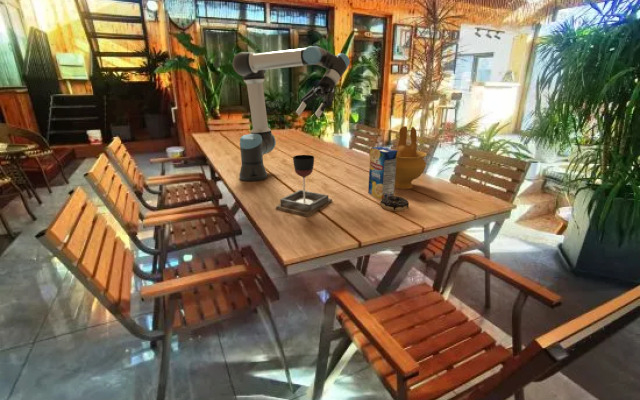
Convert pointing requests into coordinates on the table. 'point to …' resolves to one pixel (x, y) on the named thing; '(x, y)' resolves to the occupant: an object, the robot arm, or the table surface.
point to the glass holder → (301, 208)
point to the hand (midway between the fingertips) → (306, 114)
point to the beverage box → (382, 172)
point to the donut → (394, 203)
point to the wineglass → (303, 171)
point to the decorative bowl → (408, 160)
